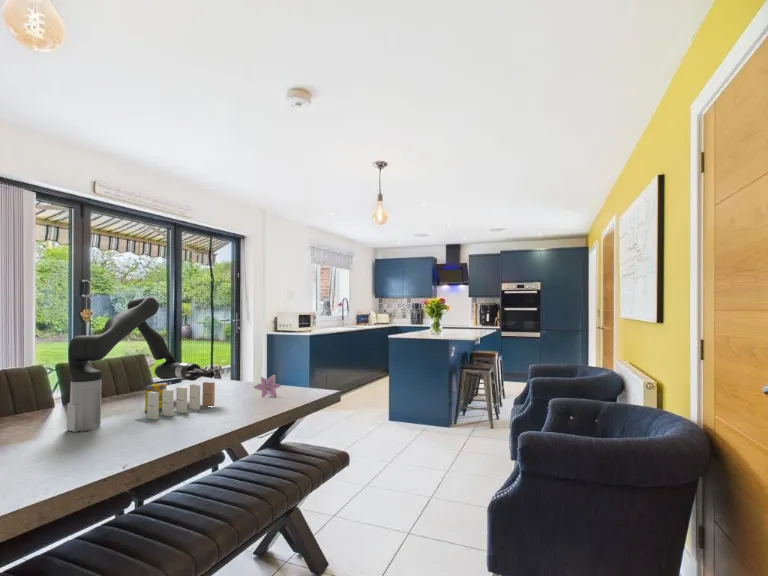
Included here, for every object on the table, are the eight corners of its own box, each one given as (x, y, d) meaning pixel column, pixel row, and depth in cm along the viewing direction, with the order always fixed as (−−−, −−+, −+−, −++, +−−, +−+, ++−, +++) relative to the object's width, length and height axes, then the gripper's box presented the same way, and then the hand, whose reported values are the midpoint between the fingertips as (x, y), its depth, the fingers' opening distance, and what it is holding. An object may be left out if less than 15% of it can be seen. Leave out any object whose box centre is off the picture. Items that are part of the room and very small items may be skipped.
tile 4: (169, 416, 169) (169, 390, 169) (161, 414, 172) (162, 389, 172) (173, 415, 170) (173, 390, 171) (165, 413, 173) (166, 388, 173)
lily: (249, 399, 206) (252, 383, 203) (260, 385, 217) (263, 370, 214) (272, 407, 205) (275, 391, 202) (282, 393, 216) (285, 378, 213)
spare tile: (211, 406, 186) (212, 383, 186) (202, 405, 187) (202, 382, 188) (214, 405, 187) (214, 382, 188) (204, 405, 189) (205, 382, 189)
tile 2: (196, 410, 179) (196, 386, 180) (189, 408, 182) (189, 385, 182) (200, 409, 180) (200, 385, 181) (192, 407, 183) (193, 384, 184)
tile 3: (183, 413, 174) (183, 388, 175) (176, 411, 177) (176, 387, 177) (186, 412, 175) (187, 387, 176) (179, 410, 178) (180, 386, 179)
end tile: (154, 419, 164) (154, 393, 164) (147, 417, 167) (147, 392, 167) (158, 418, 165) (158, 392, 166) (151, 417, 168) (151, 391, 168)
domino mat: (146, 423, 159) (146, 423, 159) (133, 420, 164) (133, 419, 164) (218, 407, 185) (218, 406, 185) (205, 404, 190) (205, 404, 190)
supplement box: (158, 412, 176) (159, 386, 177) (144, 412, 176) (144, 386, 177) (166, 409, 182) (166, 383, 182) (152, 409, 182) (153, 383, 183)
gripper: (174, 365, 189) (198, 367, 180) (201, 361, 200) (225, 364, 191) (173, 382, 189) (197, 385, 179) (201, 377, 200) (225, 380, 191)
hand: (211, 374), depth 185 cm, fingers closed
